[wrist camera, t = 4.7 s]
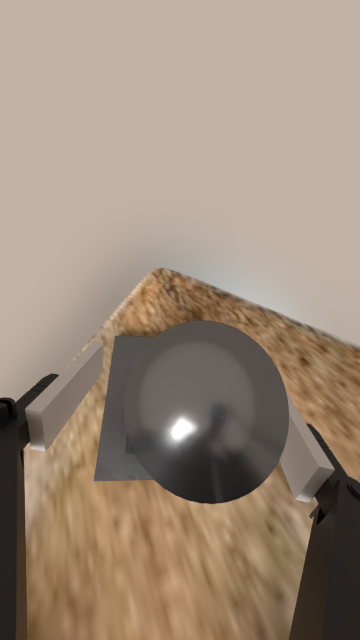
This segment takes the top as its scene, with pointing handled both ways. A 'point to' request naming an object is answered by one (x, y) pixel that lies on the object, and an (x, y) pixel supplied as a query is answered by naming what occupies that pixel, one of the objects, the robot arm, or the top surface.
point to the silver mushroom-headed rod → (206, 412)
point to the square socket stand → (119, 417)
